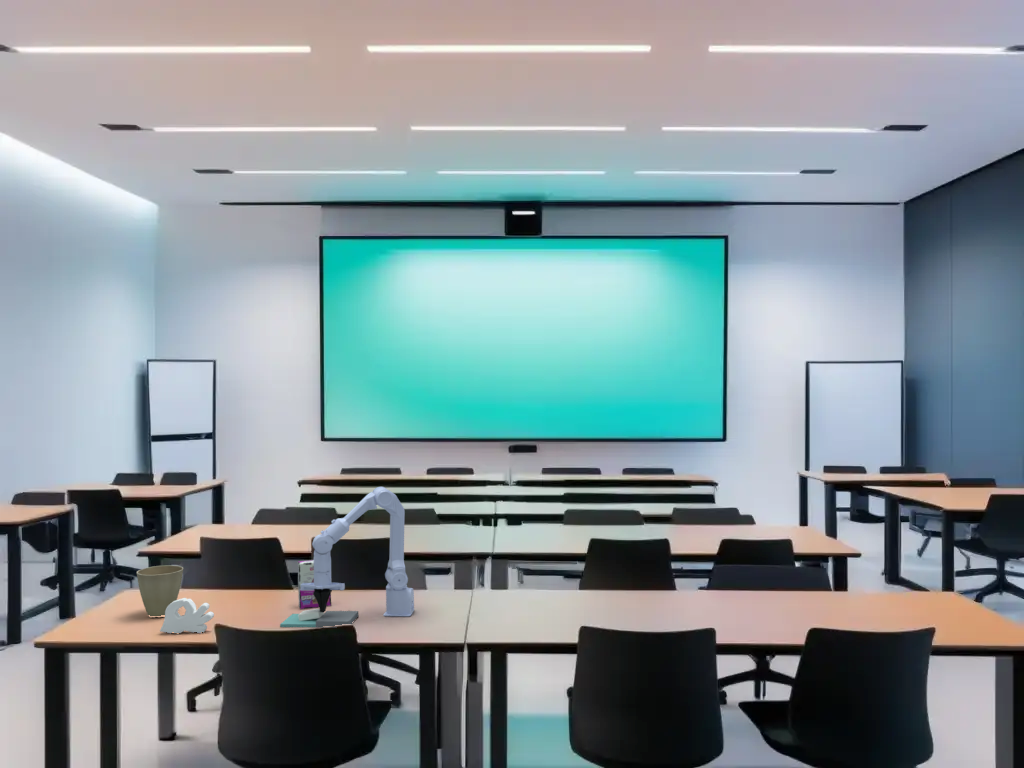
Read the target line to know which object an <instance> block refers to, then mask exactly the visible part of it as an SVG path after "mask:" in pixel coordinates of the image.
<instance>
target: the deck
mask: <svg viewBox="0 0 1024 768" xmlns="http://www.w3.org/2000/svg"><path fill="white" fill-rule="evenodd" d="M357 617H358V618H359V610H326V611H325V612H324V614H323V615H322V616H321V617H320V618H319V619H318V620H317V621H316V627H315V628H324V627H323V626H335V625H342V624H352V625H353V623H354V622H355V621H356V620H357V619H358V618H357ZM356 618H357V619H356ZM355 619H356V620H355ZM354 620H355V621H354ZM353 621H354V622H353ZM352 622H353V623H352Z"/></svg>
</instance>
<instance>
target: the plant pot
mask: <svg viewBox="0 0 1024 768" xmlns="http://www.w3.org/2000/svg"><path fill="white" fill-rule="evenodd" d="M183 573H184V567H183V566H179V565H173V564H172V565H169V564H168V565H165V564H164V565H156V566H155V565H154V566H149V567H144V568H141V569H139V570H137V571H136V576H137V584H138V589H139V594H140V596H141V601H142V603H143V606H144V608H145V611H146V615H147V616H148V615H150V616H161V615H165V610H166V608H167V607H168V606H169V604H171V603H172V602H173V601H175V600H178V597H179V595H180V590H181V585H182V579H183Z"/></svg>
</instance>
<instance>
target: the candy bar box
mask: <svg viewBox="0 0 1024 768" xmlns="http://www.w3.org/2000/svg"><path fill="white" fill-rule="evenodd" d="M302 583H314V559H311V560H302V561H300V560H299V561H297V586H298V589H297V590H298V591H297V592H298V607H299V609H300V610H306V609H307V610H310V609H318V608H319V605H318V602H317V600H316V598H315V596H314V595H313V592H314V590H301V584H302ZM330 606H332V593H331V594H330V596H329V599H328V602H327V606H326V607H330Z"/></svg>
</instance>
